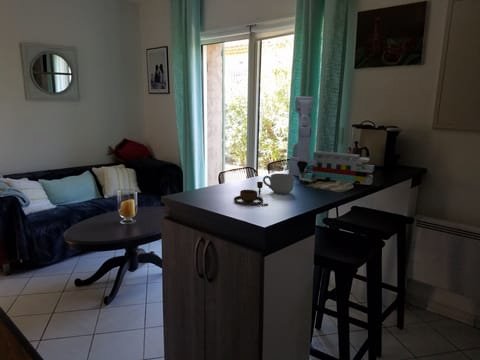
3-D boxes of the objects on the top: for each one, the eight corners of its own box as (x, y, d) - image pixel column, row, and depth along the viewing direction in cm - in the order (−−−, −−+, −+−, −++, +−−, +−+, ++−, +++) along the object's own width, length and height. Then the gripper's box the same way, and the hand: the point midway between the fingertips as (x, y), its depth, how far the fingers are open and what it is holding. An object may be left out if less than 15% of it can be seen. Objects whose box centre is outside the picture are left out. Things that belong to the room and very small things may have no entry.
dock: (305, 187, 176) (305, 180, 175) (318, 183, 186) (318, 176, 185) (341, 194, 164) (342, 186, 163) (353, 189, 175) (353, 182, 174)
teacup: (294, 191, 163) (295, 174, 161) (291, 197, 153) (292, 179, 151) (265, 188, 167) (266, 172, 165) (260, 194, 156) (261, 176, 155)
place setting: (223, 200, 146) (223, 186, 145) (258, 193, 159) (259, 181, 158) (251, 210, 133) (251, 195, 132) (287, 202, 146) (288, 188, 145)
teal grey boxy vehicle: (298, 182, 182) (299, 172, 180) (305, 180, 187) (306, 170, 186) (310, 185, 177) (311, 174, 176) (317, 182, 183) (318, 172, 181)
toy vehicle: (370, 187, 176) (373, 158, 173) (311, 180, 190) (313, 152, 186) (372, 184, 183) (375, 156, 180) (315, 177, 197) (317, 150, 194)
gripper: (287, 149, 182) (285, 174, 185) (312, 152, 174) (310, 179, 176) (294, 148, 188) (292, 173, 191) (319, 151, 179) (316, 177, 182)
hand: (301, 175), depth 184 cm, fingers closed, pressing on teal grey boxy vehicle
